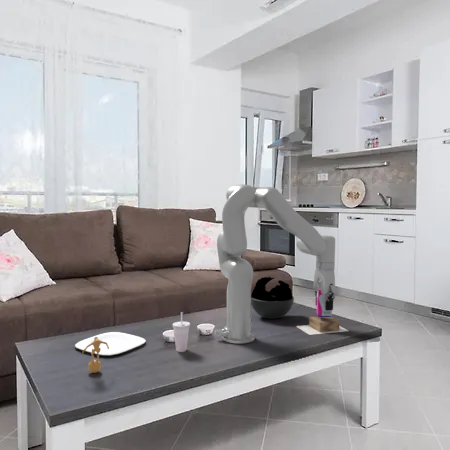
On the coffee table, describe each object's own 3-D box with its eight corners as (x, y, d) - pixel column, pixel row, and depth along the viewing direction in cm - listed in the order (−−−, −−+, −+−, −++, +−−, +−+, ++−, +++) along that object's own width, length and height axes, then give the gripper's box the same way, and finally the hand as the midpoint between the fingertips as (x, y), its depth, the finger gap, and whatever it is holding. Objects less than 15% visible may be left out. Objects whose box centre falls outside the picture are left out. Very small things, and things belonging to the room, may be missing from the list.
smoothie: (173, 353, 155) (173, 314, 154) (171, 347, 161) (171, 310, 161) (191, 352, 157) (191, 313, 156) (188, 346, 163) (188, 309, 162)
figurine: (105, 367, 143) (105, 331, 142) (111, 374, 138) (111, 336, 137) (79, 373, 138) (79, 335, 137) (84, 379, 133) (84, 341, 132)
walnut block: (319, 332, 178) (320, 322, 178) (309, 326, 187) (309, 316, 187) (339, 330, 181) (339, 321, 181) (327, 324, 190) (328, 315, 189)
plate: (109, 362, 149) (109, 357, 148) (67, 349, 160) (67, 344, 160) (152, 343, 167) (152, 339, 167) (112, 333, 178) (112, 329, 178)
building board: (309, 336, 175) (309, 334, 175) (295, 327, 187) (295, 326, 187) (348, 332, 181) (348, 330, 181) (333, 324, 192) (333, 322, 192)
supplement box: (329, 313, 186) (330, 287, 186) (331, 317, 180) (332, 290, 180) (316, 313, 187) (316, 286, 186) (317, 317, 181) (318, 289, 180)
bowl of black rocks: (247, 312, 211) (247, 273, 209) (288, 312, 212) (289, 273, 211) (252, 324, 191) (252, 282, 189) (297, 324, 192) (298, 281, 191)
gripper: (307, 262, 189) (306, 303, 191) (328, 269, 173) (326, 313, 174) (322, 262, 192) (321, 302, 193) (344, 268, 175) (343, 312, 176)
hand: (324, 307), depth 183 cm, fingers closed on supplement box, 7 cm apart
